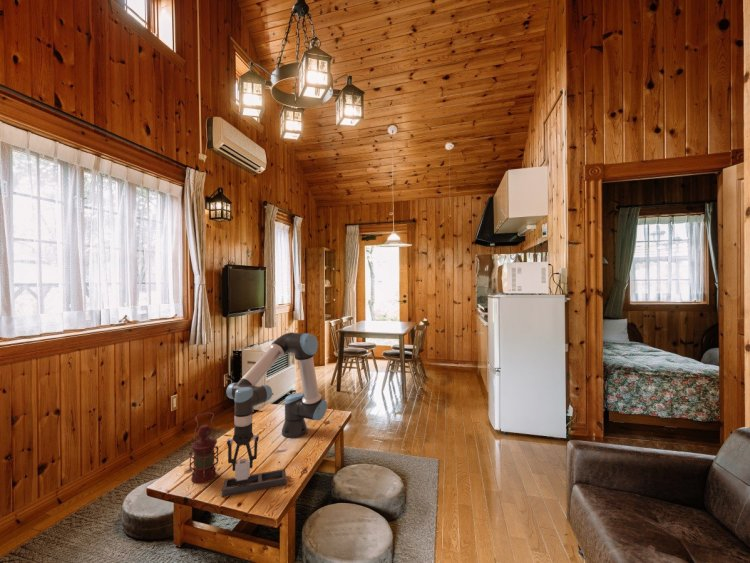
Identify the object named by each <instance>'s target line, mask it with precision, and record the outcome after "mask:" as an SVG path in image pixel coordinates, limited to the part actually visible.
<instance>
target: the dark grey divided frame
mask: <svg viewBox="0 0 750 563" xmlns="http://www.w3.org/2000/svg"><path fill="white" fill-rule="evenodd" d="M284 486H287V474H286V468H282V469H281V468H280V469H275V470H270V471H265V472H259V473H253V474H252V473H251V474H250V477H248V479H245V480H239V481H237V479H235V477H230V478H225V479H223V484H222V488H221V489H222V490H221V498H226V497H230V496H236V495H241V494H248V493H252V492H256V491H263V490H268V489H273V488H278V487H284Z"/></svg>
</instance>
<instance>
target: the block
mask: <svg viewBox="0 0 750 563" xmlns="http://www.w3.org/2000/svg"><path fill="white" fill-rule="evenodd" d="M248 459H249V457H247V458H239V459H236V461H237V481H239V480H245V479H248Z"/></svg>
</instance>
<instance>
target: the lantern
mask: <svg viewBox="0 0 750 563" xmlns="http://www.w3.org/2000/svg"><path fill="white" fill-rule="evenodd" d="M206 414H209V412H204V413H199V414H197V415H195V417H194V418H195V421H196V422H197V425H196V427H195V429H194V438H193V441H194V442H193V443H191V447H190V448H191V449H192V450H190V452H189V470H190V471H191V479H190V480H191V482H192V483H194V484H204V483H208V482H210V481H212V480H213V479H215V478H216V476H217V471H216V467H217V466H218V463H219V446H218V445H216V444H218V440H217V439H216V438H215V437H216V436H215V433H216V431H215V427H214V424H213V423H212V422H213V419H214V416H215V414H214V413H213V412H210V414H211V415H212V418H211V420H210V424H211V426H212V427H213V433H212V429H211V427H210V425H208V424H202V425H200V427H199V421H198V419H197V417H198V416H200V415H201V416H202V415H206ZM198 427H199V429H198ZM197 429H198V431H197ZM196 431H197V435H198V437H200V439H198V437H197V436H196ZM211 433H212V434H211ZM210 435H211V436H213V437H209V436H210ZM215 449H216V451H215ZM192 454H193V456H192ZM192 460H193V461H192ZM215 460H216V462H215ZM192 465H193V467H192Z"/></svg>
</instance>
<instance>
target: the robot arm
mask: <svg viewBox="0 0 750 563" xmlns="http://www.w3.org/2000/svg"><path fill="white" fill-rule="evenodd" d="M318 348H319V343H318V338H317V337H316V336H315V335H313V334H311V333H308V332H307V333H306V332H305V333H304V332H303V333H302V332H293V331H291V332H286V333H284V334H282V335H280V336H278V337H277V338H276V339H275V340H274V341H273V342H271V343H270V344H269V348H268V349H267V351H265V352H264V354H263V355H262V356H261V357H260V358H259V359H258V360H257V362H255V364H253V365H252V366H251V368H250V369H249V370H248V371H247V372H246V373H245V374H244V375H243V376H242V378H240V379H239V380H238V382H231V383H230V384H229V385H228V386H227V388H226V397H228V398H229V399H231V400H233V401H234V421H233V422H234V427H233V431H234V432H233V436H232V437H231V438H227V439H226V444H227V449H228V450H227V462H228V463H227V464H232V472H234V478H235V479H237V460H238V455H239V451H240V447H241V446H245V447H246V451H247V455H248V477H250V475H251V474H250V473H251V472H250V471H251V469H253V466H254V464H253V462H254V461H255V460H257V459H258V441H259V438H260V436H259V434H254V433H253V411H254V409H253V408H255V406H258V405H261V404H263V403H266V402H267V401H269V400H271V398H272V396H273V390H272V388H271V386H270V385H268V384H263V385H260V386H258V385H257V384H258V383H259V381H261V379H262V378H263V377H264V376H265V375H266V374H267V372H268V371H269V370H270V369H271V368H272V367H273V366H274V364H275V363H277V361H278V360H279V359H280V358H282V357H284V356H285V355H286V354H290V353H291V354H294V355H293V356H294V359H295V361H297V362H298V368H299V375H300V379H301V386H302V391H303V392H300V393H299V392H298V393H297V392H296V393H291V394H289V395H287V396H286V397H285V399H284V423H283V424H282V428H281V435H282V436H283V437H285V438H287V439H288V438H290V439H295V438H300V437H303V436H304V435H306V434H307V432H308V427H307V423H306V420H305V419H307V420H312V421H320V420H322V419H323V418H324V416H325V415H326V412H327V409H328V403H327V401H326V400H325V399H323V398H322V394H321V393H320V392H319V389H318V388H319V387H318V382H317V375H316V369H315V362H314V357H315V355H316V353H317V352H318ZM256 385H257V386H256ZM252 439H253V441H254V443H253V444H254V445H253V449H254V450H253V452H252V448H251V445H250V442H251V441H252ZM234 442H235V445H236V447H235V451H234V455H233V454H232V452H233V451H232V448H233V446H232V444H233V443H234ZM232 455H233V458H232Z"/></svg>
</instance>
